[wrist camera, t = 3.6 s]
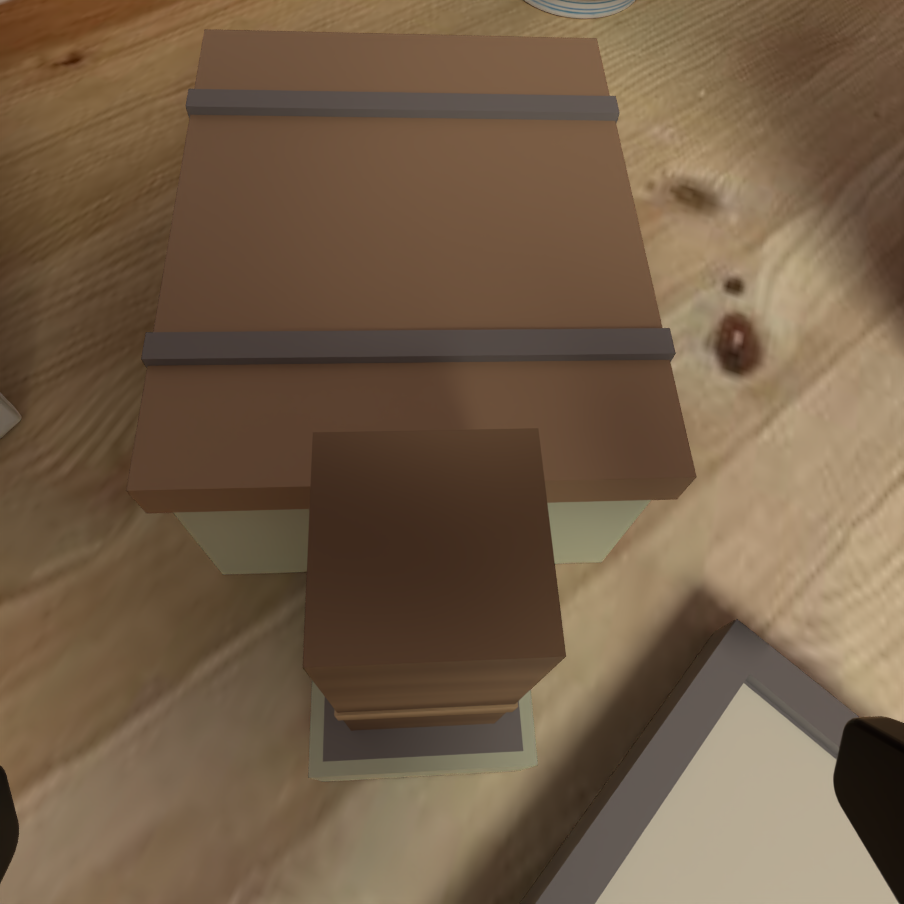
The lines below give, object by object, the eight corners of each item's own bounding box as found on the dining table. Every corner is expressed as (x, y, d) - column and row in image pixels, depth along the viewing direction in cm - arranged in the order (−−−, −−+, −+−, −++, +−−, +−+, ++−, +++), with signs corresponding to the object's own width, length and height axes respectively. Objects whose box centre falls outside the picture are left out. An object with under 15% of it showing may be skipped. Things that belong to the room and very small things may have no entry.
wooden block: (496, 725, 16) (570, 660, 9) (348, 732, 16) (298, 672, 8) (486, 582, 17) (541, 425, 10) (350, 586, 17) (309, 429, 10)
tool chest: (647, 764, 18) (769, 743, 12) (187, 789, 18) (67, 780, 11) (557, 206, 27) (601, 30, 21) (249, 204, 26) (200, 20, 20)
